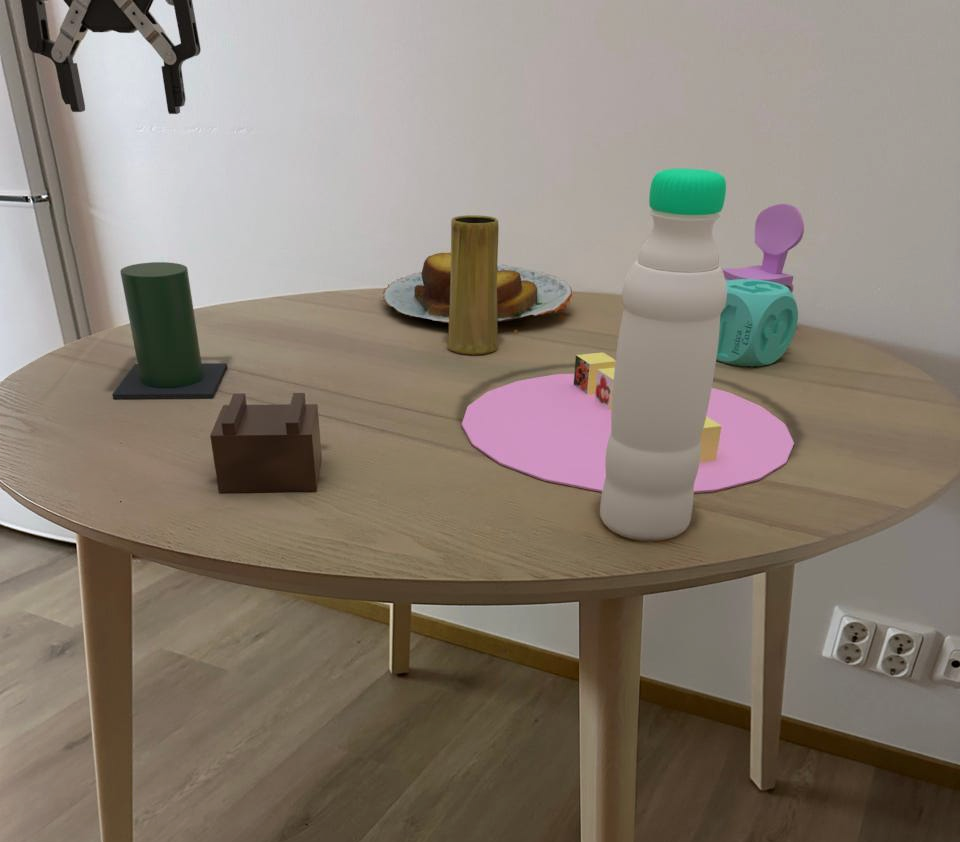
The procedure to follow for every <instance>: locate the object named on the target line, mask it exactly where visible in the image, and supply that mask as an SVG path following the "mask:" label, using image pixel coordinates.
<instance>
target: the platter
mask: <svg viewBox="0 0 960 842" xmlns="http://www.w3.org/2000/svg"><path fill="white" fill-rule="evenodd" d="M615 361H616V359H614V358H613V357H611V356H609V355H608V354H606V353H605V352H602V351H601V352H593V353H582V354H575V361H574V362H575V363H574V372H573V373H556V374H555V373H554V374H549V375H544V376H538V377H533V378H526V379H521V380H515V381H514V382H510V383H508V384H507V383H506V384H505V385H502V386H499V387H496V388H493V389H490V390H488V391H486V392H485V393H483V394H482V395H481V396H480V397H478V398H477V399H475V400H474V401H473V402H471V403H470V404H468V405H467V407H466V410H465V413H464V416H463V419H462V422H461V427H462V429H463V431H464V433H465V434H466V436H467V438H468V440H469V442H470V444H471V446H473V448H475V449H477V450H479V451H480V452H482V453H483V454H484V455H486V456H487V457H489V458H490V459H491V460H493V461H495V463H497V464H499V465H501V466H503V467H506V468H509V469H511V470H515V471H517V472H520V473H522V474H525V475H528V476H530V477H533V478H536V479H539V480H542V481H545V482H549V483H553V484H559V485H564V486H567V487H568V486H569V487H574V488H579V489H583V490H588V491H595V492H599V493H602V490H603V485H604V481H605V478H606V467H605V461H606V450H607V444H608V440H609V436H610V434H611V408H612V392H613V381H614V370H615ZM700 444H701V455H700V463H699V468H698V473H697V476H696V479H695V482H694V494H697V493H698V494H699V493H712V492H713V493H714V492H719V491H723V490H727V489H730V488H735V487H738V486H742V485H746V484H749V483H754V482H757V481H760V480H762V479H763V478H765V477H766V476H769V475H770V474H771V473H773V472H775V471H776V470H778V469H780V468H781V467H784V466H785V465H786V464H787V462H788V459H789V458H790V454H791V453H792V450H793V447H794V446H793V445H795V442H794V439H793V438H792V436H791V433H790V432H789V429H788V427H787V425H786V423H784V422H783V421H782V420H780V419H779V418H778V417H776V416H775V415H774V414H773V413H772V412H769V410H768V409H766V408H765V407H763V406H762V405H759V404H757V403H755V402H752V401H750V400H747V399H745V398H743V397H741V396H739V395H736V394H734V393H732V392H729V391H725V390H721V389H718V388H715V387H712V389H711V395H710V400H709V405H708V410H707V415H706V420H705V424H704V428H703V431H702V435H701V438H700Z"/></svg>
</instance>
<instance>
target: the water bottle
mask: <svg viewBox="0 0 960 842" xmlns="http://www.w3.org/2000/svg"><path fill="white" fill-rule="evenodd" d="M726 192H727V180H726V178H725V176H723V175H722V174H721V173H719V172H717V171H713V170H707V169H699V168H684V167H683V168H682V167H681V168H680V167H679V168H668V169H667V168H666V169H662V170H660V171H658V172H657V173H656V174H654V176H653V178H652V180H651V183H650V188H649V199H648V203H649V208H651V210H650V211H649V214H650V216H651V217H652V219H653V228H652V231H651V233H650V235H649V236H648V238H647V240H646V241H645V242H644V243H643V245H642V246H641V248H640V250H639V253H638V256H637V257H638V258H637V259H636V260H635V261H634V263H633V264H632V267H630V269H629V271H628V273H627V275H626V278H624V281H623V285H622V291H621V301H622V305H623V312H622V316H621V321H620V325H619V331H618V338H617V344H616V345H617V346H616V352H615V353H616V354H615V360H616V361H615V370H614V381H613V392H612V408H611V434H610V436H609V440H608V444H607V450H606V461H605V467H606V478H605V481H604V485H603V490H602V492H601V497H600V504H599V505H600V506H599V516H600V519H601V521H602V523H603V524H604V525H605V527H606V528H608V530H610V531H612V532H613V533H615V534H617V535H618V536H621V537H624V538H626V539H630V540H636V541H641V542H659V541H666V540H671V539H673V538H675V537H678V536H679V535H681V534H682V533H684V532H685V531H686V530H687V529H688V527H689V525H690V524H691V523H690V522H691V519H692V514H693V506H694V496H695V495H694V494H695V493H694V482H695V479H696V476H697V473H698V468H699V463H700V455H701V444H700V438H701V435H702V431H703V428H704V424H705V420H706V415H707V410H708V405H709V400H710V395H711V389H712V388H713V383H714V375H715V370H716V363H717V360H716V357H717V349H718V340H719V329H720V314H721V312H722V311H723V309H724V306H725V303H726V299H727V285H726V281H725V277H724V274H723V270H722V269H723V268H722V266H721V264H720V253H719V250H718V247H717V245H716V243H715V240H714V236H713V227H714V224H715V222H716V221H717V220H718V219H720V217H721V215H720V213H721V212H722V210H723V208H724V205H725V199H726V194H727V193H726Z"/></svg>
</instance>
